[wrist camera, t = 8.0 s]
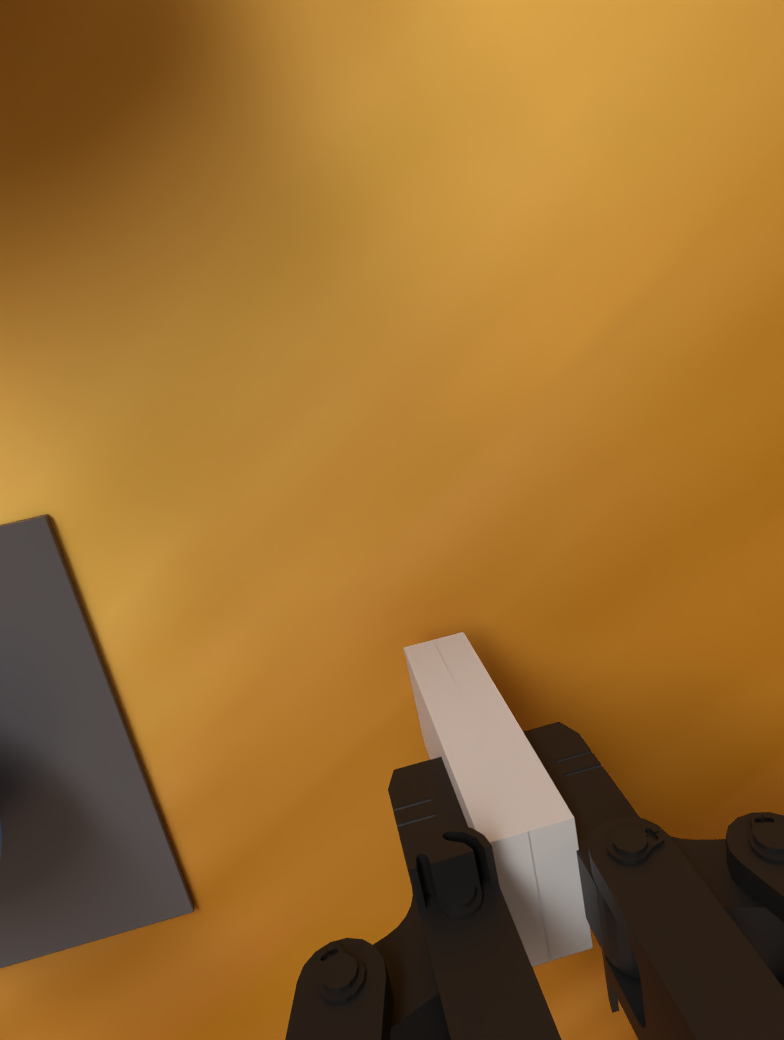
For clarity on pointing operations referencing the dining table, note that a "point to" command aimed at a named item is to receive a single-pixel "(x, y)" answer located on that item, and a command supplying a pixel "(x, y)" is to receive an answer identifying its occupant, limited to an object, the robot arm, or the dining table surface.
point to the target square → (68, 772)
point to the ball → (0, 839)
